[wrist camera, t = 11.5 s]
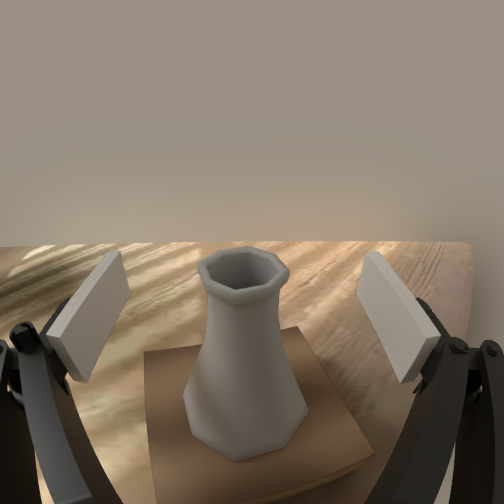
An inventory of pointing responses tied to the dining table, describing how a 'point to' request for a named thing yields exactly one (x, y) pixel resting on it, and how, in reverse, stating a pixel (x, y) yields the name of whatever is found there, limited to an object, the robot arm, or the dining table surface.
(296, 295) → the dining table surface
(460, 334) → the dining table surface
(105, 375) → the dining table surface
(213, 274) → the flask
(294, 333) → the plinth
